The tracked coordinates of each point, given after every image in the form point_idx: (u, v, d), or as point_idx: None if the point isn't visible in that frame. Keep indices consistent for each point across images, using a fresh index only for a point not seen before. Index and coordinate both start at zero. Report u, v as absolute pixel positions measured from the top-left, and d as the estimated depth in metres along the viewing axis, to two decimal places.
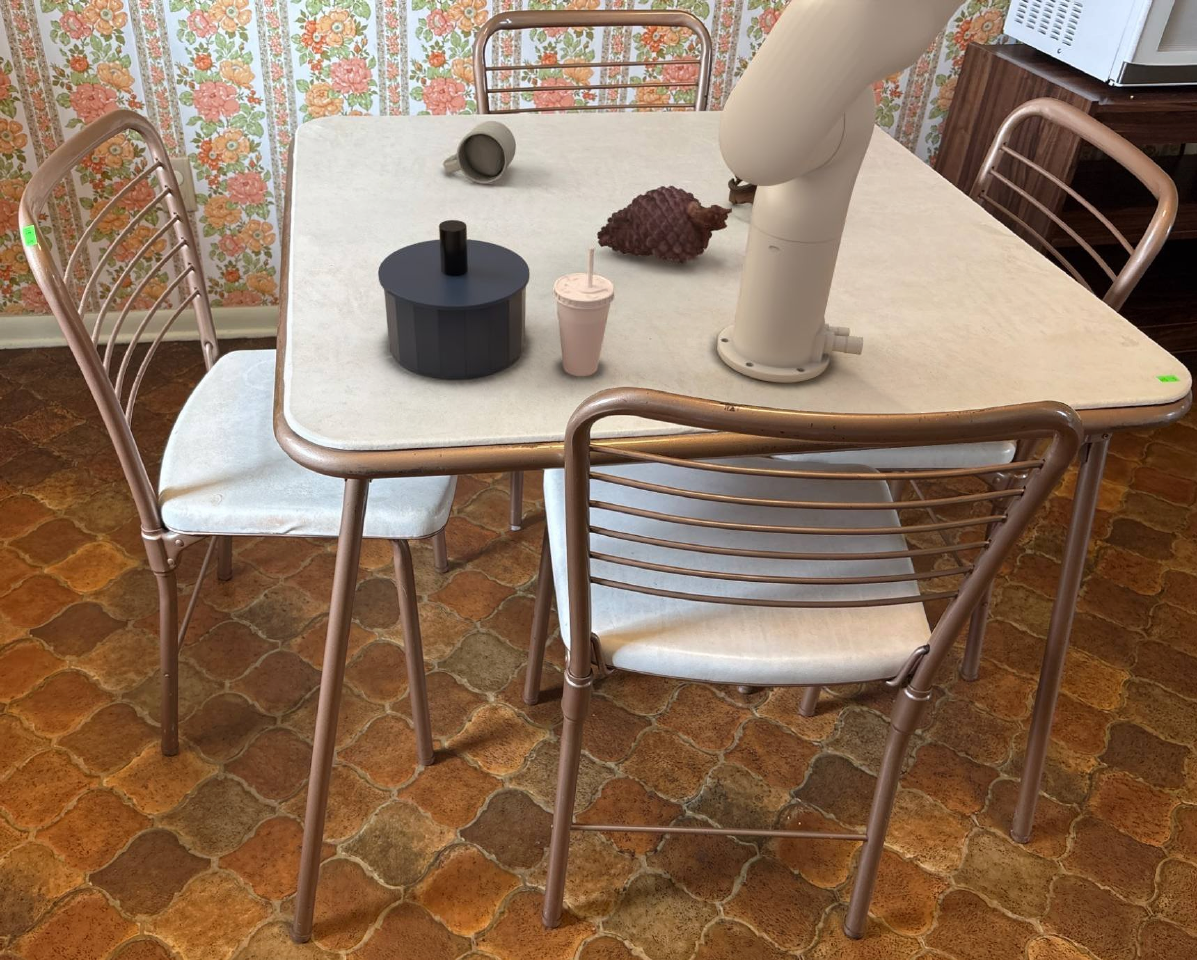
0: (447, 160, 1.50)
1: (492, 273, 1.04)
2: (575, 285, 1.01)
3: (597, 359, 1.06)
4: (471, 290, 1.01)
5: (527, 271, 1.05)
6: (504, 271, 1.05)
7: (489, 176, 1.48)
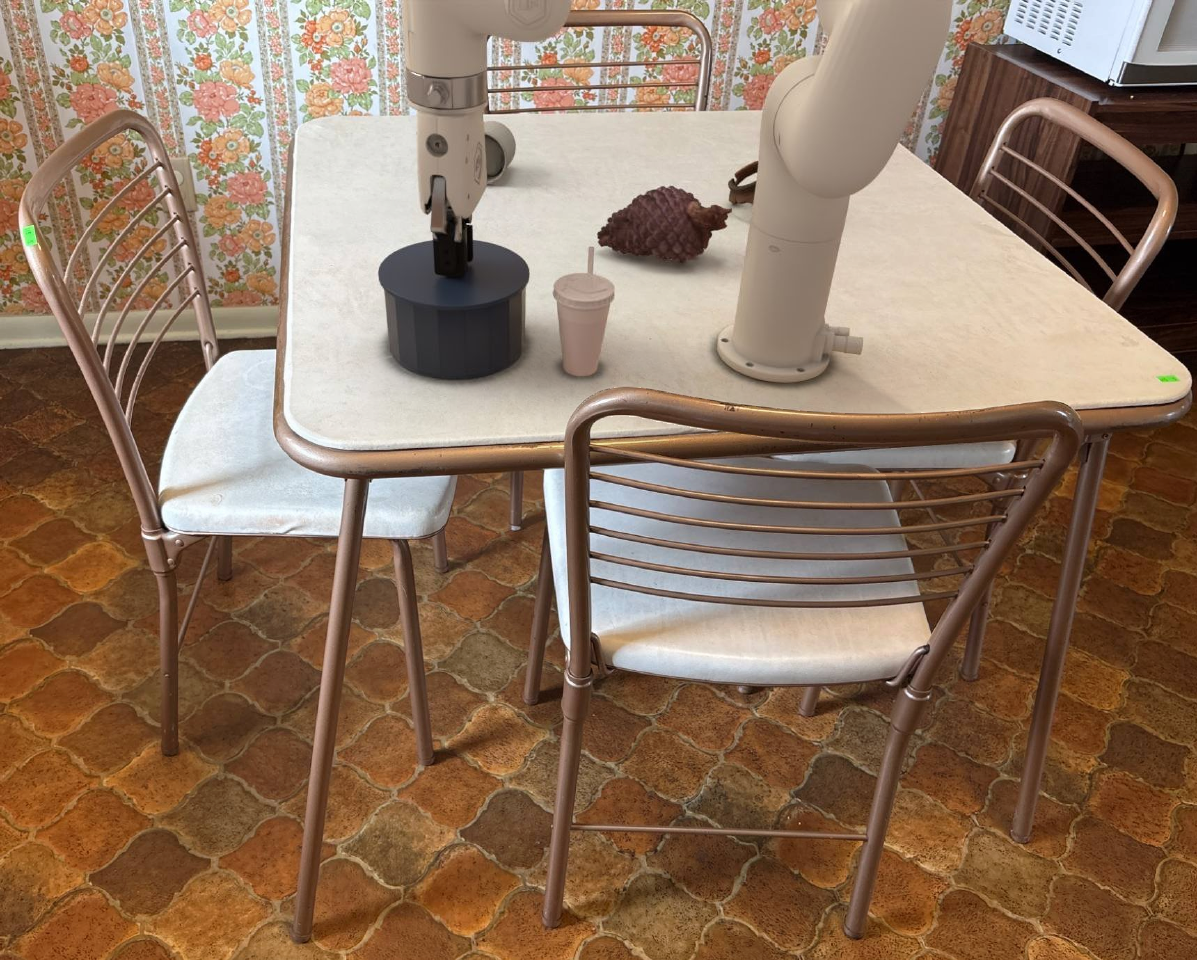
0: None
1: (492, 273, 1.04)
2: (575, 285, 1.01)
3: (597, 359, 1.06)
4: (471, 290, 1.01)
5: (527, 271, 1.05)
6: (504, 271, 1.05)
7: (489, 176, 1.48)
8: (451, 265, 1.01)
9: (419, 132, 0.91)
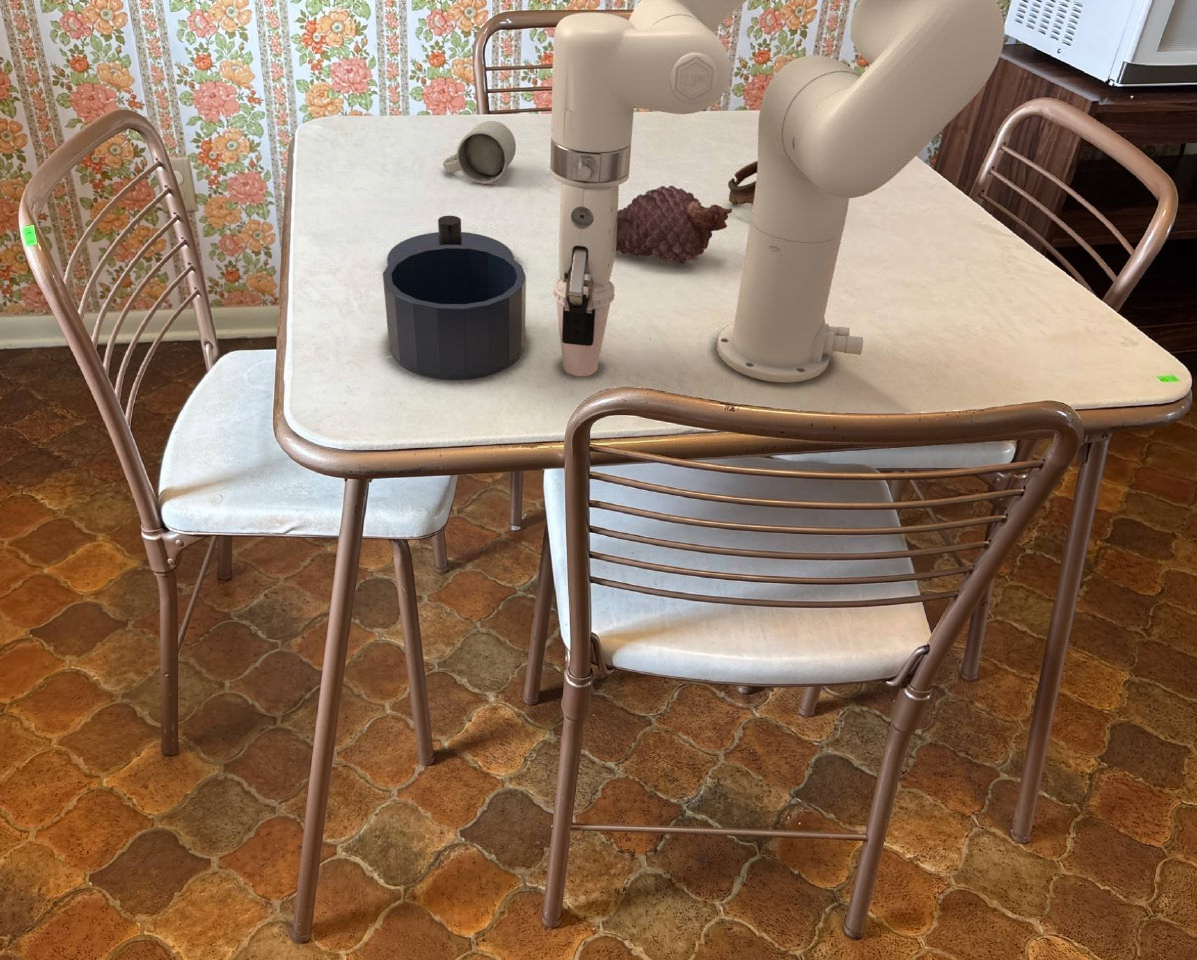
0: (447, 160, 1.50)
1: None
2: None
3: (597, 359, 1.06)
4: None
5: None
6: None
7: (489, 176, 1.48)
8: (580, 334, 1.00)
9: (564, 205, 0.92)
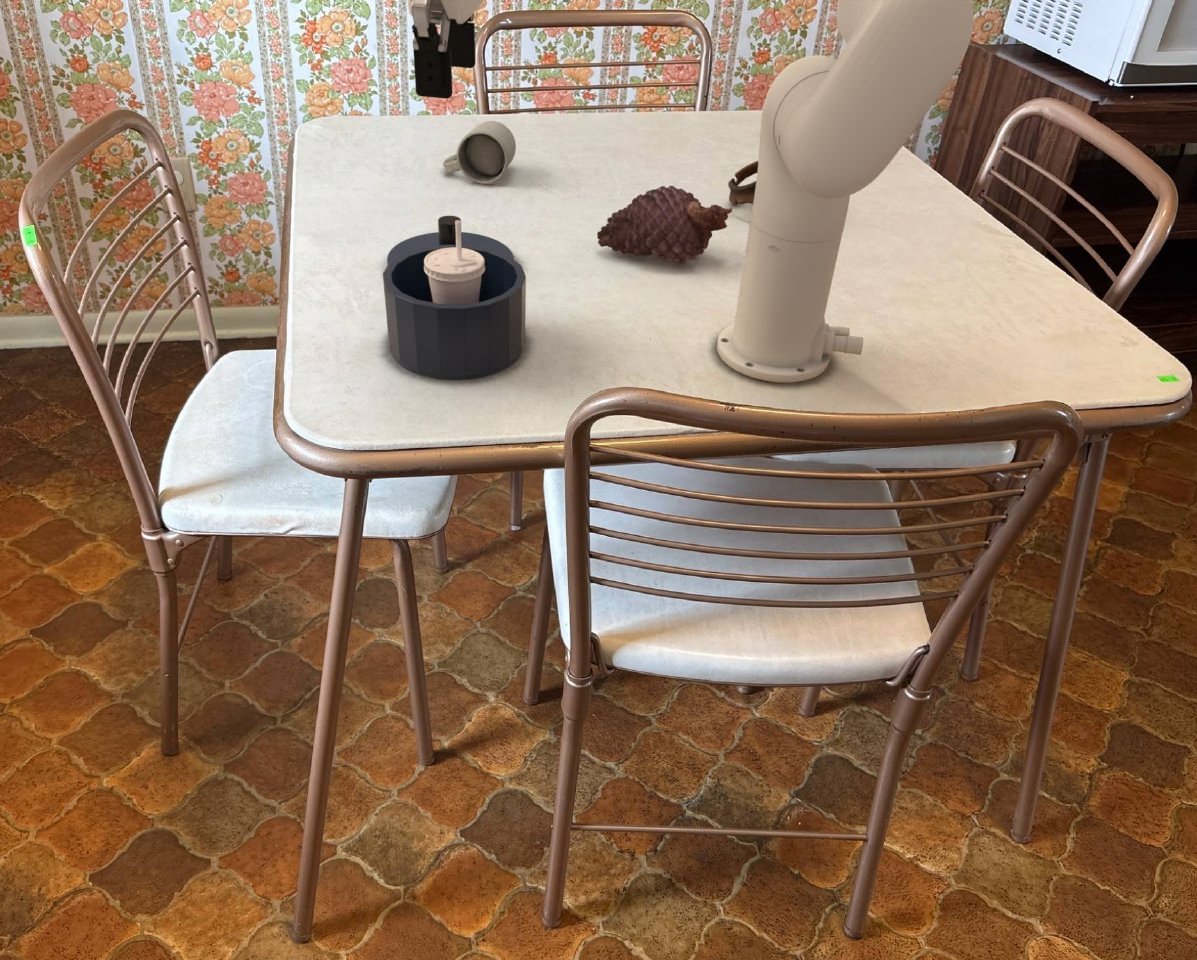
0: (447, 160, 1.50)
1: None
2: (445, 259, 1.03)
3: None
4: None
5: None
6: None
7: (489, 176, 1.48)
8: (435, 81, 0.87)
9: None
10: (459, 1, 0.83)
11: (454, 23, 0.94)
